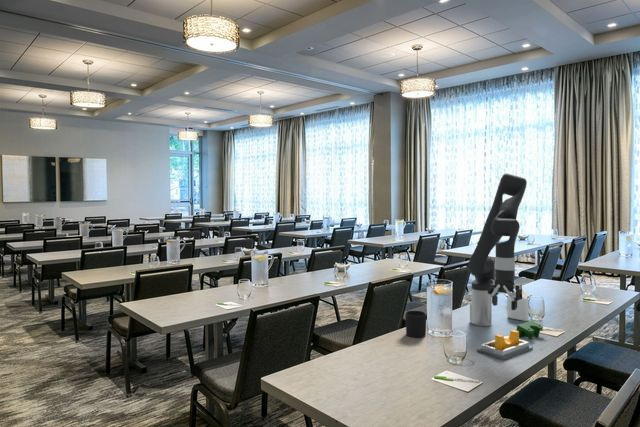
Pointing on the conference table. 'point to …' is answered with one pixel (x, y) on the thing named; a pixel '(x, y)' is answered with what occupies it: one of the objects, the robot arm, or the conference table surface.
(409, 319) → the pen holder
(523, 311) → the white napkin holder
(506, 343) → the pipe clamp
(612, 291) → the conference table surface
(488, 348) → the grey metal tray
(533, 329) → the clamp
